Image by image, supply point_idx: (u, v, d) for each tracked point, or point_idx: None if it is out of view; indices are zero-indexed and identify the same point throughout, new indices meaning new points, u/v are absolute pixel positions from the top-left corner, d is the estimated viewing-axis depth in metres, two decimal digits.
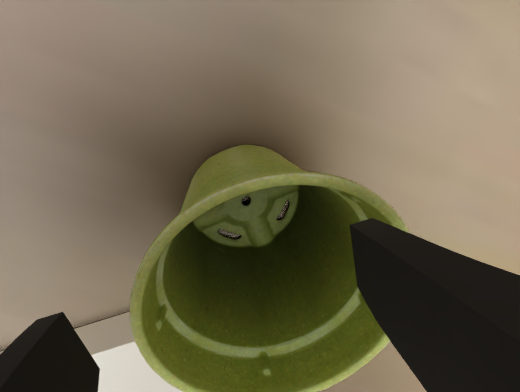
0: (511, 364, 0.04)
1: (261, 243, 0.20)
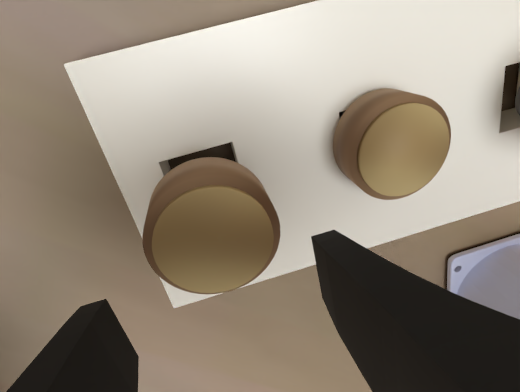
0: (438, 389, 0.04)
1: None
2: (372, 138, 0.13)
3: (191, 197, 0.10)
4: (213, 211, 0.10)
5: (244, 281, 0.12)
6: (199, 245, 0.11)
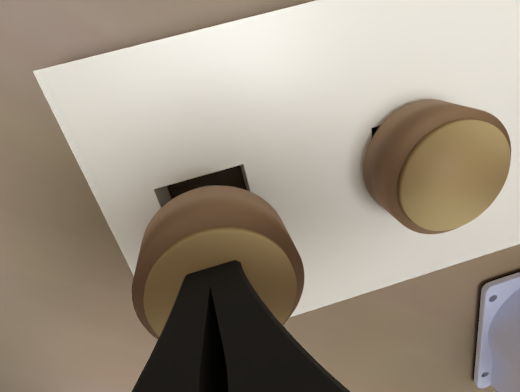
0: None
1: None
2: (418, 163, 0.11)
3: (193, 244, 0.08)
4: (222, 259, 0.08)
5: None
6: None
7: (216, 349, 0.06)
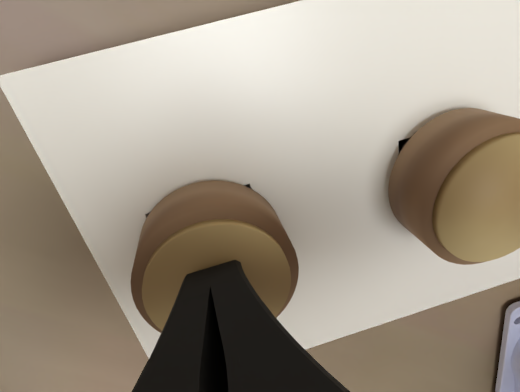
0: None
1: None
2: (460, 185, 0.09)
3: (190, 236, 0.08)
4: (218, 251, 0.08)
5: None
6: None
7: (216, 349, 0.06)
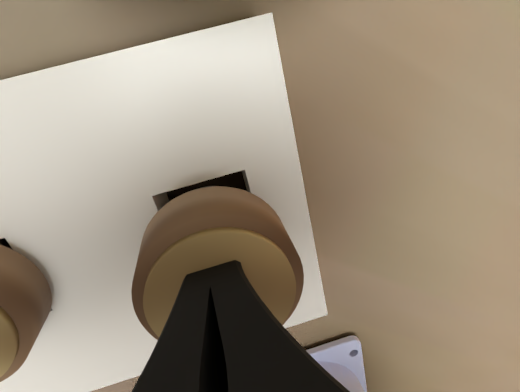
0: None
1: None
2: None
3: None
4: None
5: None
6: None
7: (216, 349, 0.06)
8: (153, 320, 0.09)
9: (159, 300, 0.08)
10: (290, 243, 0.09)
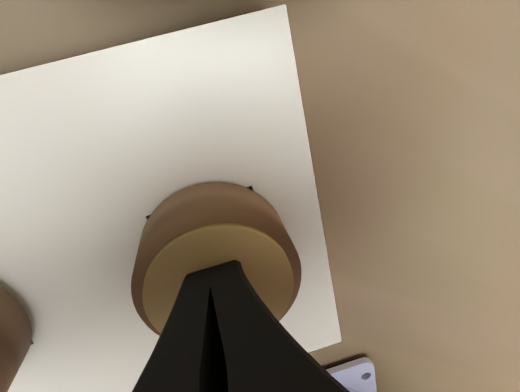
0: None
1: None
2: None
3: None
4: None
5: None
6: None
7: (216, 349, 0.06)
8: (152, 314, 0.09)
9: (158, 294, 0.08)
10: (288, 238, 0.09)
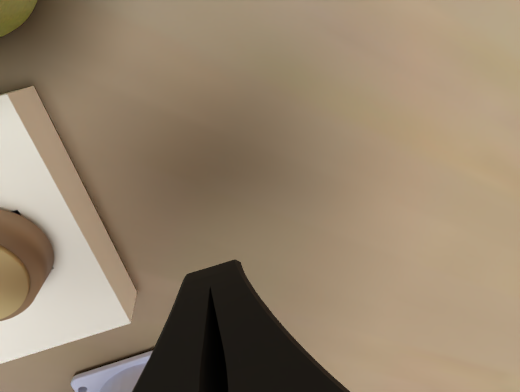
0: None
1: None
2: None
3: None
4: None
5: None
6: None
7: (216, 349, 0.06)
8: None
9: None
10: (16, 247, 0.13)
